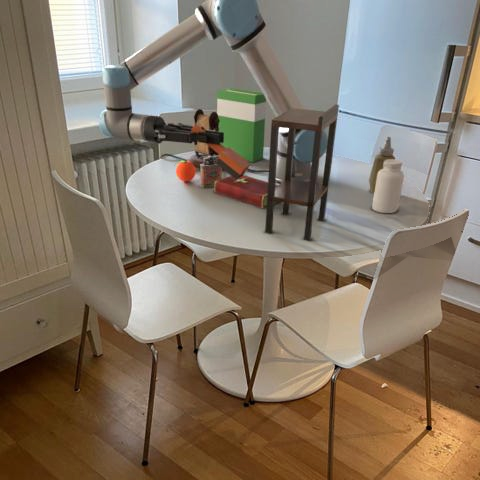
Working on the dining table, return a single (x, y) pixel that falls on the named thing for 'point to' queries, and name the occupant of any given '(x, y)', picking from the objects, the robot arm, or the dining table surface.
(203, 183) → the lighter
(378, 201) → the pill bottle
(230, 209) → the dining table surface
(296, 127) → the metal plant stand
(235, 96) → the green cereal box
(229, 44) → the robot arm
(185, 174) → the clementine
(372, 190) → the squeeze bottle
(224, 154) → the brush
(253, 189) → the hardcover book
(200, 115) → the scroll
